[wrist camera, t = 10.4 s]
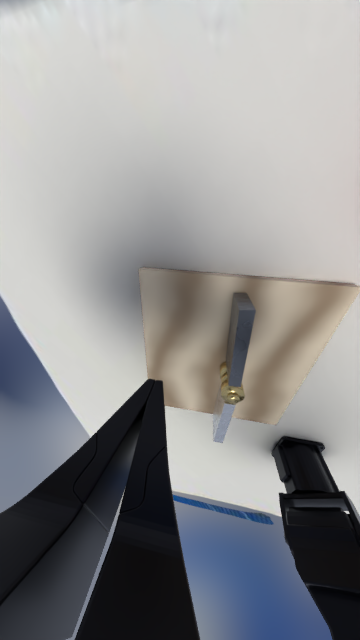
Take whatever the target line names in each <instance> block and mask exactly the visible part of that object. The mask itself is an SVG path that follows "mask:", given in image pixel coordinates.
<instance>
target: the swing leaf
mask: <svg viewBox="0 0 360 640" xmlns="http://www.w3.org/2000/svg"><path fill="white" fill-rule="evenodd" d="M255 313H256V309H255V307H254V306H253V304H252V302H251V300H250V298H249V296H248V294H247V293H233V302H232V310H231V319H230V327H229V336H228V344H227V353H226V369H227V373H224V374H223V375H222V376H221V383H222V382H223V381H225V380H227V379H228V386H234V387H241V383H242V378H243V373H244V368H245V363H246V358H247V353H248V348H249V343H250V338H251V333H252V328H253V323H254V318H255Z"/></svg>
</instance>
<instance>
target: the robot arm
mask: <svg viewBox="0 0 360 640" xmlns="http://www.w3.org/2000/svg"><path fill="white" fill-rule="evenodd" d="M324 449H325V447H324V445H323V444H320V443H315V442H309V441H304V440H298V439H293V438H287V437H283V438H282V439H281V440H280V442H279V443H278V445H277V446H276V447H275V449H274V450H273V451H272V456H273V457H274V459H275V462H276V466H277V470H278V473H279V477H280V480H281V481H282V482H284V484H285V488H286V491H287V494H283V493H279V499H280V500H279V501H280V508H281V514H282V519H283V526H284V536H285V540H286V543H287V544H288V545H289V547H290V550H291V553H292V555H293V557H294V559H295V565H296V569H297V571H298V573H299V575H300V577H301V579H302V580H303V582H304V583H305V585H306V587H307V589H308V591H309V592H310V594H311V596H312V598H313V600H314V601H315V603H316V605H317V607H318V609H319V611H320V612H321V614H322V616H323V618H324V620H325V621H326V623H327V625H328V627H329V629H330V632H331V636H332V639H333V640H360V516H359V514H358V512H357V510H356V508H355V506H354V504H353V503H352V501H351V500H350V499H349V497H348V496H347V494H346V493H345V491H339V489H338V487H337V485H336V483H335V481H334V479H333V477H332V475H331V473H330V471H329V469H328V467H327V464H326V462H325V460H324V458H323V456H322V454H321V452H322V451H323V450H324ZM125 487H126V488H125ZM124 490H125V492H124ZM123 492H124V496H123V500H122V504H121V508H120V512H119V513H120V514H119V516H118V520H117V524H116V527H115V531H114V534H113V537H112V541H111V543H110V546H109V549H108V551H107V554H106V557H105V560H104V562H103V565H102V568H101V571H100V573H99V576H98V579H97V581H96V584H95V587H94V590H93V592H92V595H91V597H90V600H89V603H88V605H87V608H86V611H85V614H84V616H83V619H82V622H81V624H80V627H79V630H78V632H77V635H76V638H75V640H200V637H199V632H198V627H197V622H196V617H195V612H194V607H193V602H192V597H191V592H190V589H189V583H188V579H187V573H186V568H185V563H184V558H183V553H182V547H181V542H180V536H179V530H178V524H177V519H176V513H175V507H174V501H173V495H172V489H171V482H170V475H169V467H168V454H167V439H166V422H165V405H164V388H163V381H162V380H155V379H148V380H147V381H146V382H145V383H144V384H143V385H142V386H141V387H140V388H139V389H138V390H137V391H136V392H135V393H134V394H133V395H132V396H131V397H130V398H129V399H128V400H127V401H126V402H125V403H124V404H123V405H122V406H121V407H120V408H119V409H118V410H117V411H116V412H115V413H114V414H113V415H112V417H111V418H110V419H109V420H108V421H107V422H106V423H105V424H104V425H103V426H102V427H101V428H100V429H99V430H98V431H97V433H95V434H94V435H93V436H92V437H91V438H90V439H89V440H88V441H87V442H86V443H85V444H84V445H83V446H82V447H81V448H80V449H79V450H78V451H77V452H76V453H74V455H72V456H71V457H70V458H69V459H68V460H67V461H66V462H64V463H63V464H62V465H61V466H60V467H59V468H58V469H57V470H55V471H54V472H53V473H52V474H51V475H50V476H48V477H47V478H46V479H45V480H44V481H43V482H42V483H40V484H39V485H38V486H37V487H36V488H35V489H34V490H32V491H31V492H30V493H29V494H28V495H27V496H25V497H24V498H23V499H21V500H20V501H19V502H17V503H16V504H14V505H13V506H11V507H10V508H8V509H7V510H5V511H4V512H2V513H0V640H66V639H68V638H71V637H72V635H73V632H74V630H75V627H76V624H77V621H78V618H79V616H80V613H81V610H82V607H83V605H84V602H85V599H86V596H87V593H88V591H89V587H90V585H91V582H92V579H93V577H94V574H95V571H96V568H97V565H98V563H99V560H100V557H101V554H102V551H103V548H104V546H105V542H106V540H107V537H108V534H109V532H110V529H111V526H112V523H113V521H114V517H115V515H116V512H117V509H118V506H119V504H120V500H121V498H122V495H123ZM344 511H349V513H350V514H346V513H345V512H344Z"/></svg>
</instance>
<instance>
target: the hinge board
mask: <svg viewBox="0 0 360 640" xmlns="http://www.w3.org/2000/svg"><path fill="white" fill-rule="evenodd" d="M138 270H139V282H140V293H141V305H142V316H143V327H144V339H145V350H146V362H147V373H148V379H155V380H162V381H163V388H164V405H165V406H170V407H176V408H182V409H187V410H193V411H199V412H204V413H210V414H213V411H214V407H215V403H216V399H217V395H218V391H219V387H220V383H221V378H220V365H221V364H222V363H223V362H225V361H226V353H227V344H228V336H229V327H230V319H231V310H232V302H233V293H247V294H248V296H249V298H250V300H251V302H252V304H253V306H254V307H255V309H256V313H255V318H254V323H253V328H252V333H251V338H250V343H249V348H248V353H247V358H246V363H245V368H244V373H243V378H242V385H243V389H244V394H245V398H244V399H243V400H242V401H241V402H238V403H236V406H235V409H234V411H233V414H232V417H233V418H238V419H244V420H250V421H255V422H261V423H267V424H272V425H276V424H277V423H278V421H279V420H280V418H281V416H282V415H283V413H284V412H285V410H286V408H287V407H288V405H289V404H290V402H291V400H292V399H293V397H294V396H295V394H296V392H297V391H298V389H299V388H300V386H301V384H302V383H303V381H304V380H305V378H306V377H307V375H308V373H309V372H310V370H311V369H312V367H313V365H314V364H315V362H316V361H317V359H318V357H319V356H320V354H321V353H322V351H323V349H324V348H325V346H326V345H327V343H328V341H329V340H330V338H331V337H332V335H333V333H334V332H335V330H336V329H337V327H338V325H339V324H340V322H341V321H342V319H343V318H344V316H345V314H346V313H347V311H348V310H349V308H350V306H351V305H352V303H353V302H354V300H355V298H356V297H357V295H358V294H359V292H360V286H357V285H355V284H347V283H335V282H322V281H310V280H297V279H284V278H272V277H259V276H246V275H234V274H221V273H209V272H196V271H183V270H171V269H158V268H146V267H142V268H140V269H138Z"/></svg>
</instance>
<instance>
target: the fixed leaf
mask: <svg viewBox="0 0 360 640" xmlns="http://www.w3.org/2000/svg"><path fill="white" fill-rule="evenodd" d="M224 373H227V369H226V361H225V362H223V363H222V364H221V365H220V378H221V376H222V375H223V374H224ZM244 398H245V394H244V389H243V385H242V383H241V387H234V386H228V379H227V380H225V381H223V382H222V383H220V387H219V391H218V395H217V399H216V403H215V407H214V411H213V437H214V441H215V442H220V443H223V440H224V437H225V434H226V431H227V428H228V426H229V423H230V420H231V417H232V414H233V411H234V409H235V406H236V403H238V402H241V401H242V400H243V399H244Z"/></svg>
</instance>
